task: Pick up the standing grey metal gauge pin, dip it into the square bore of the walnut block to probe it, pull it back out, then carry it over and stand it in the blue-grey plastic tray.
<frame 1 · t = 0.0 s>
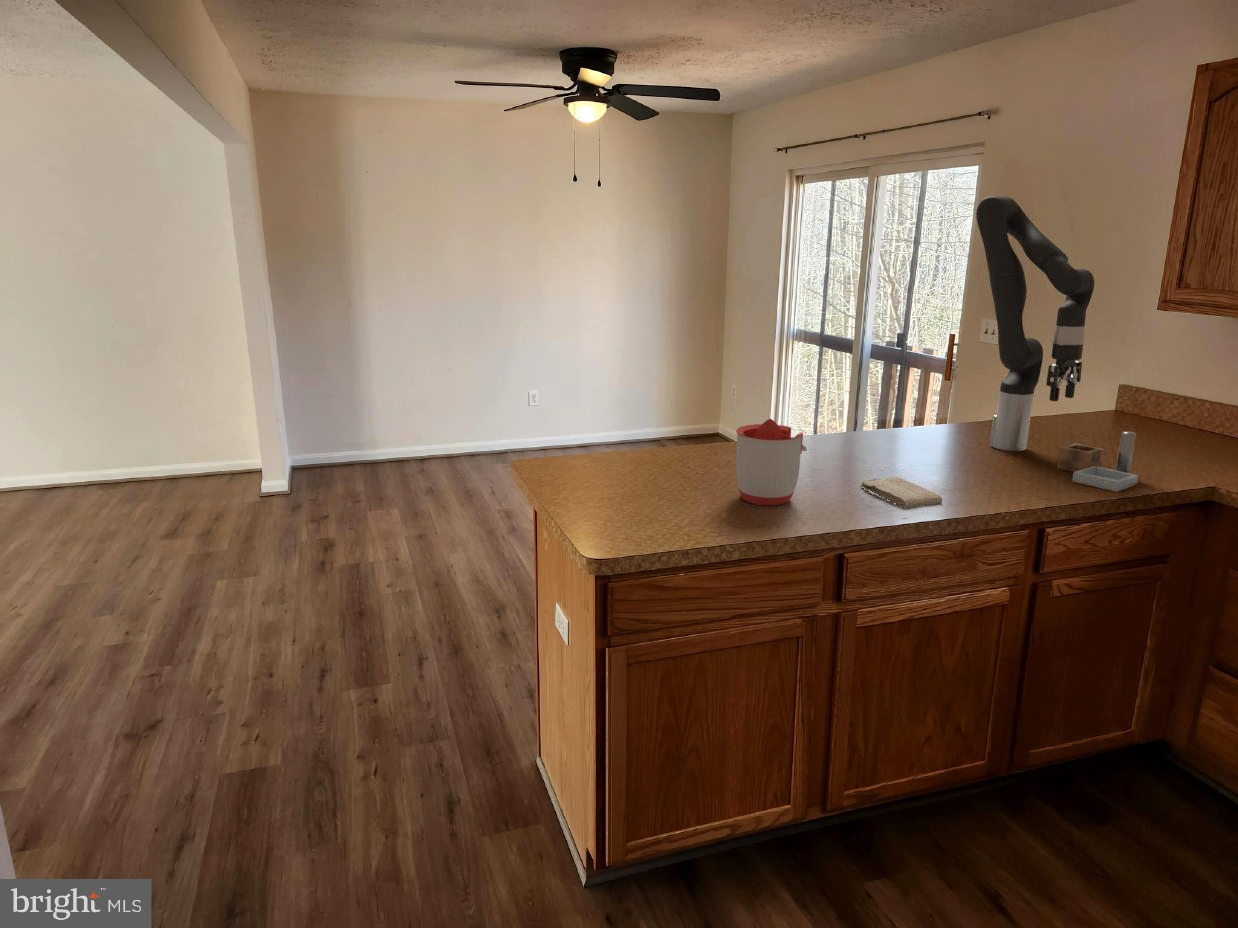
hand: (1061, 399, 232), 17 cm above the table, tool pointing down, fingers open, 8 cm apart
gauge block: (1078, 469, 224), on the table
tray: (1104, 482, 211), on the table
washcloth: (899, 497, 200), on the table
pin: (1121, 476, 218), on the table
citrus juicer: (768, 499, 197), on the table
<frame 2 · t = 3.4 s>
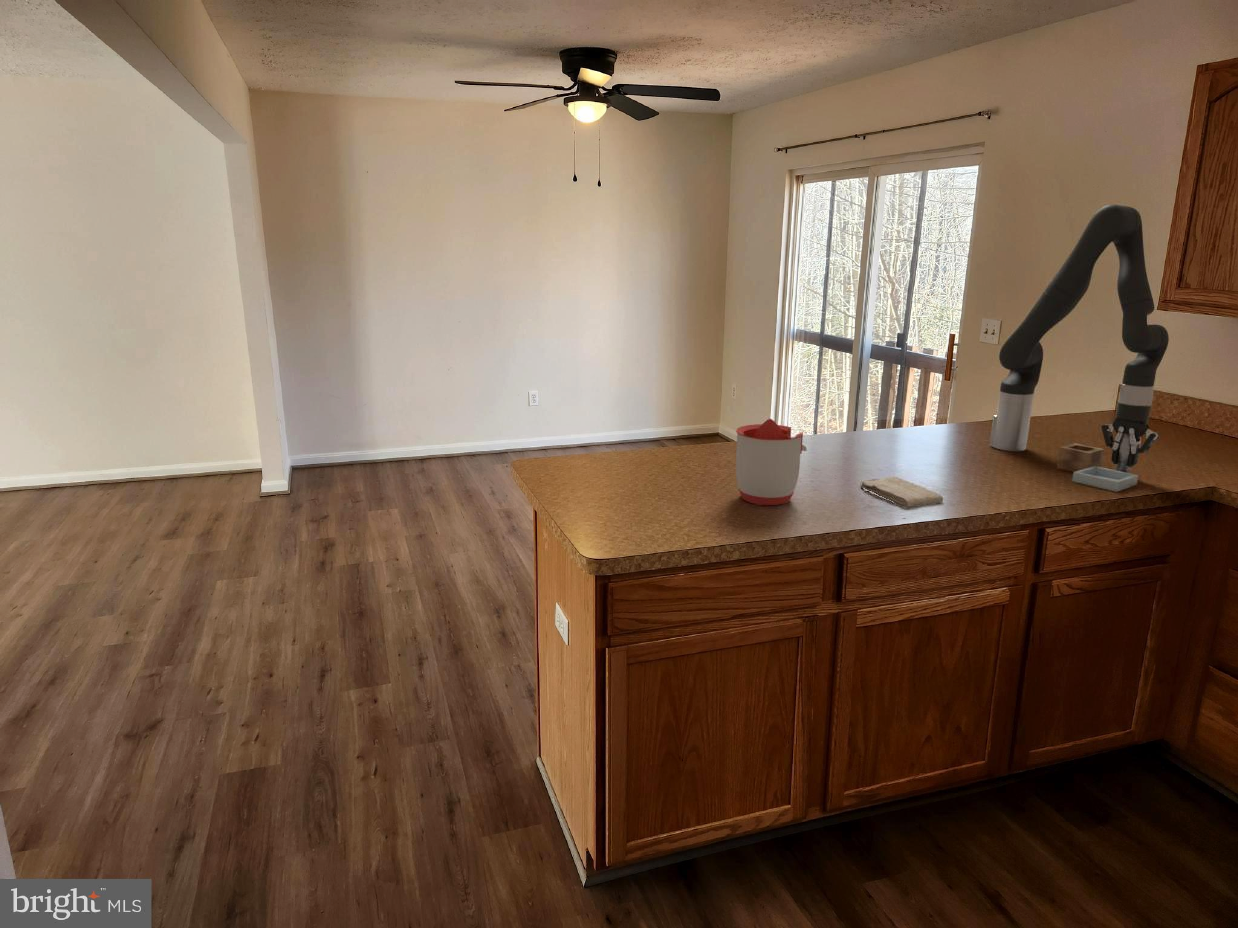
hand: (1123, 464, 217), 3 cm above the table, tool pointing down, fingers closed on pin, 3 cm apart
pin: (1121, 476, 218), on the table, touching gripper
everything else where it was.
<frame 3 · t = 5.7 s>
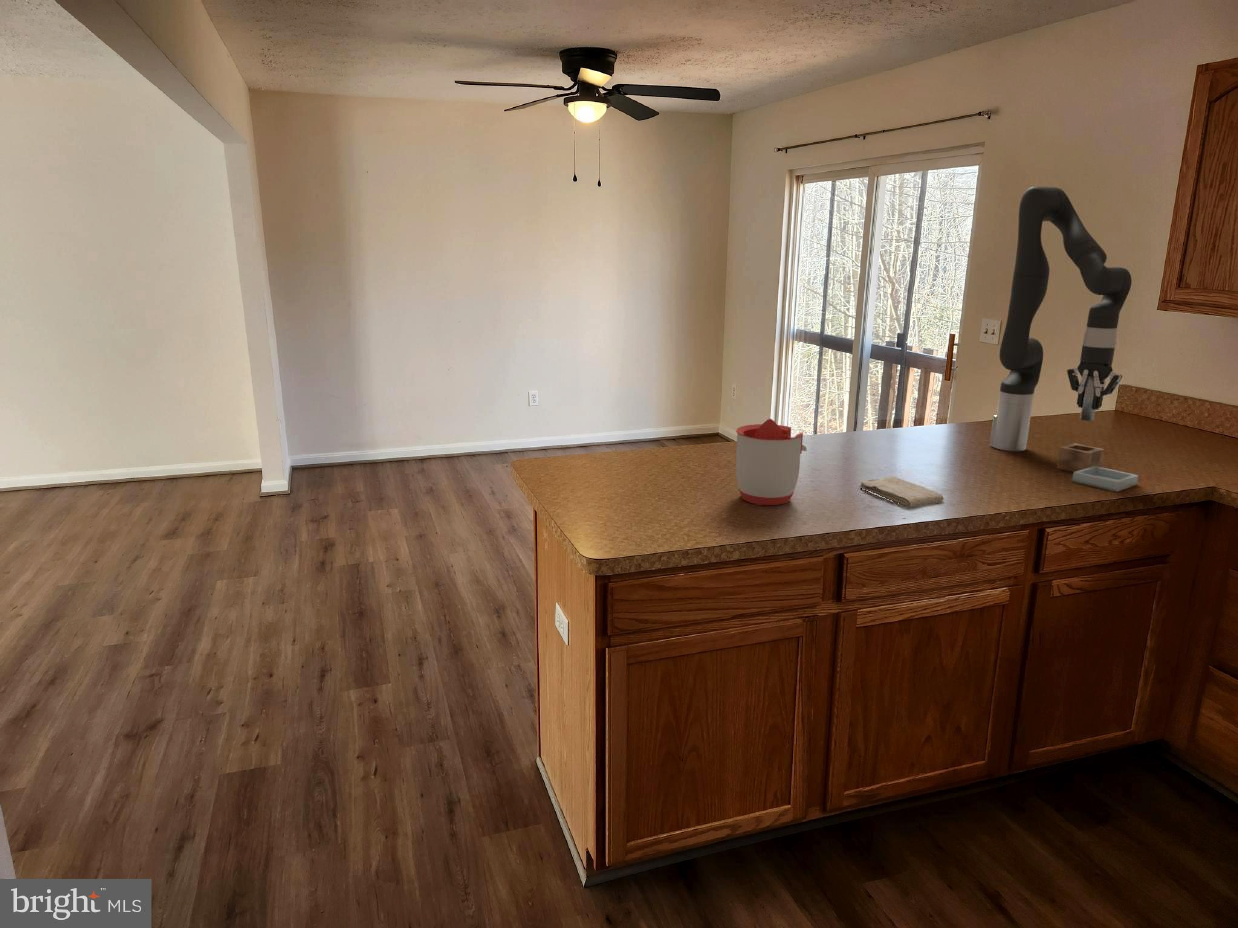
hand: (1088, 408, 219), 17 cm above the table, tool pointing down, fingers closed on pin, 3 cm apart
pin: (1086, 419, 220), point 14 cm above the table, touching gripper
everything else where it was.
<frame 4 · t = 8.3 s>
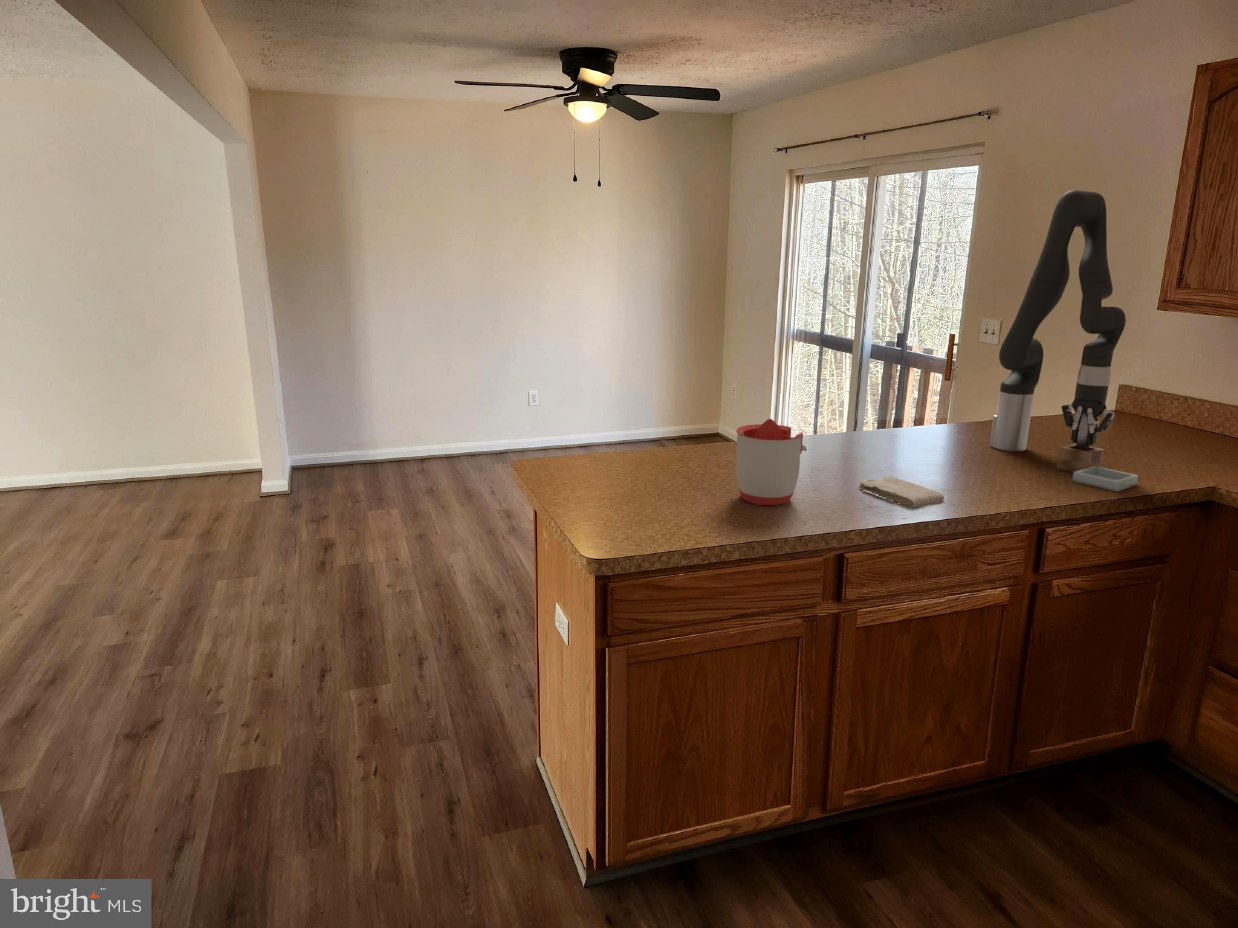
hand: (1082, 444, 222), 7 cm above the table, tool pointing down, fingers closed on pin, 3 cm apart
pin: (1080, 455, 223), point 4 cm above the table, touching gripper
everything else where it was.
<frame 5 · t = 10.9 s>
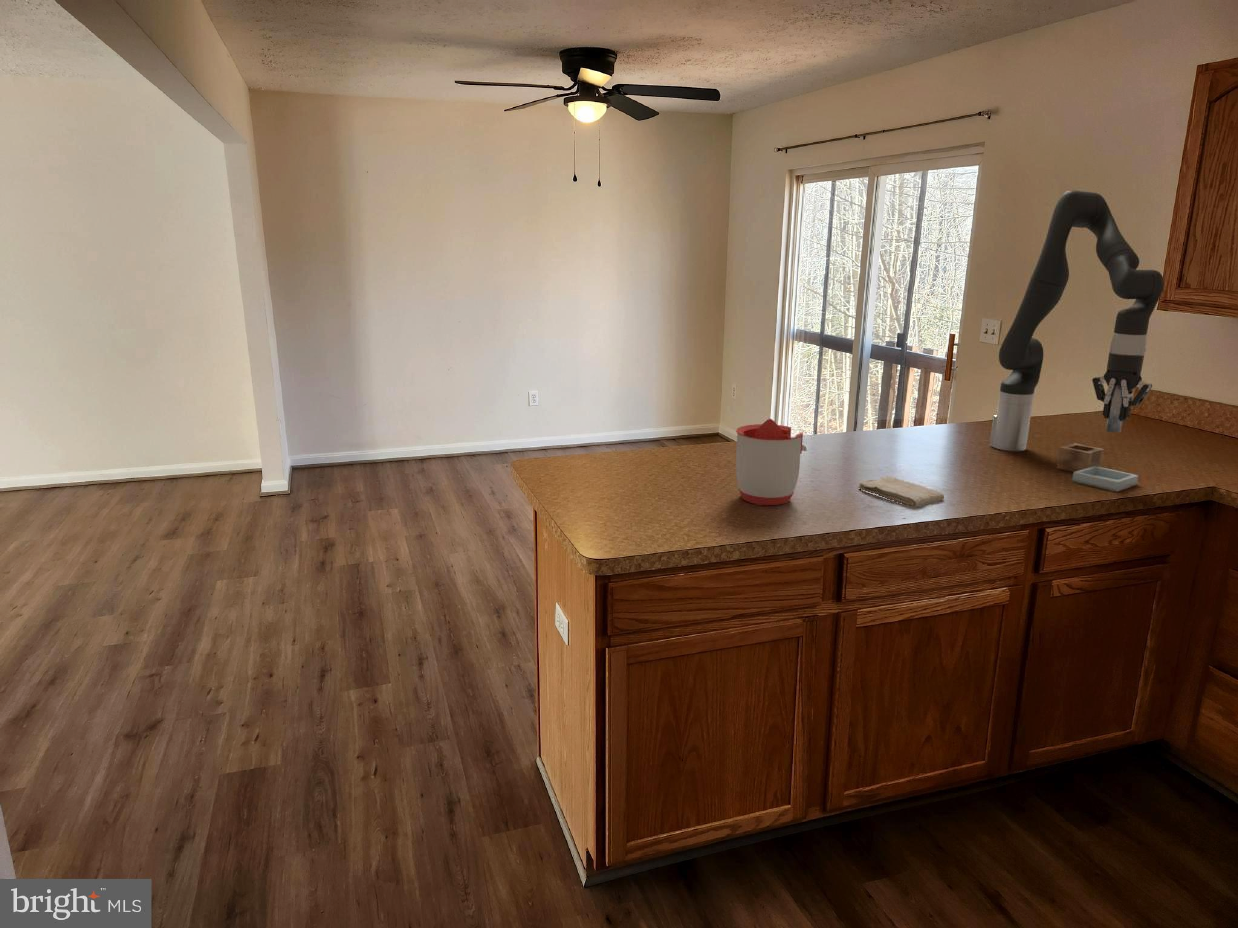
hand: (1115, 419, 207), 17 cm above the table, tool pointing down, fingers closed on pin, 3 cm apart
pin: (1113, 431, 208), point 14 cm above the table, touching gripper
when the fingers open (5 cm above the table, at t = 13.3 s): pin stays where it is, resting on tray.
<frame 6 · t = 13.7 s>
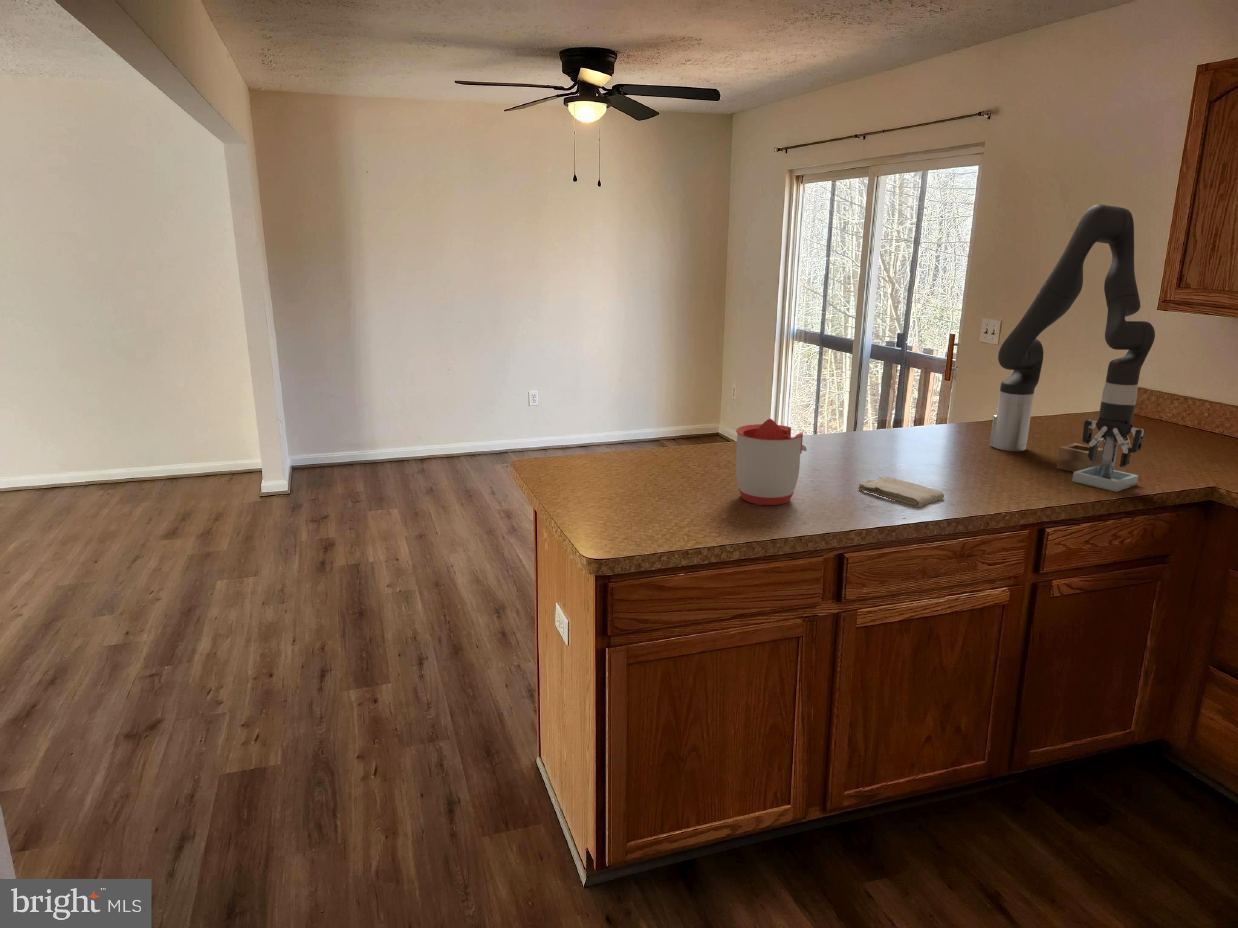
hand: (1107, 463, 210), 5 cm above the table, tool pointing down, fingers open, 7 cm apart
pin: (1104, 480, 211), point 1 cm above the table, touching tray
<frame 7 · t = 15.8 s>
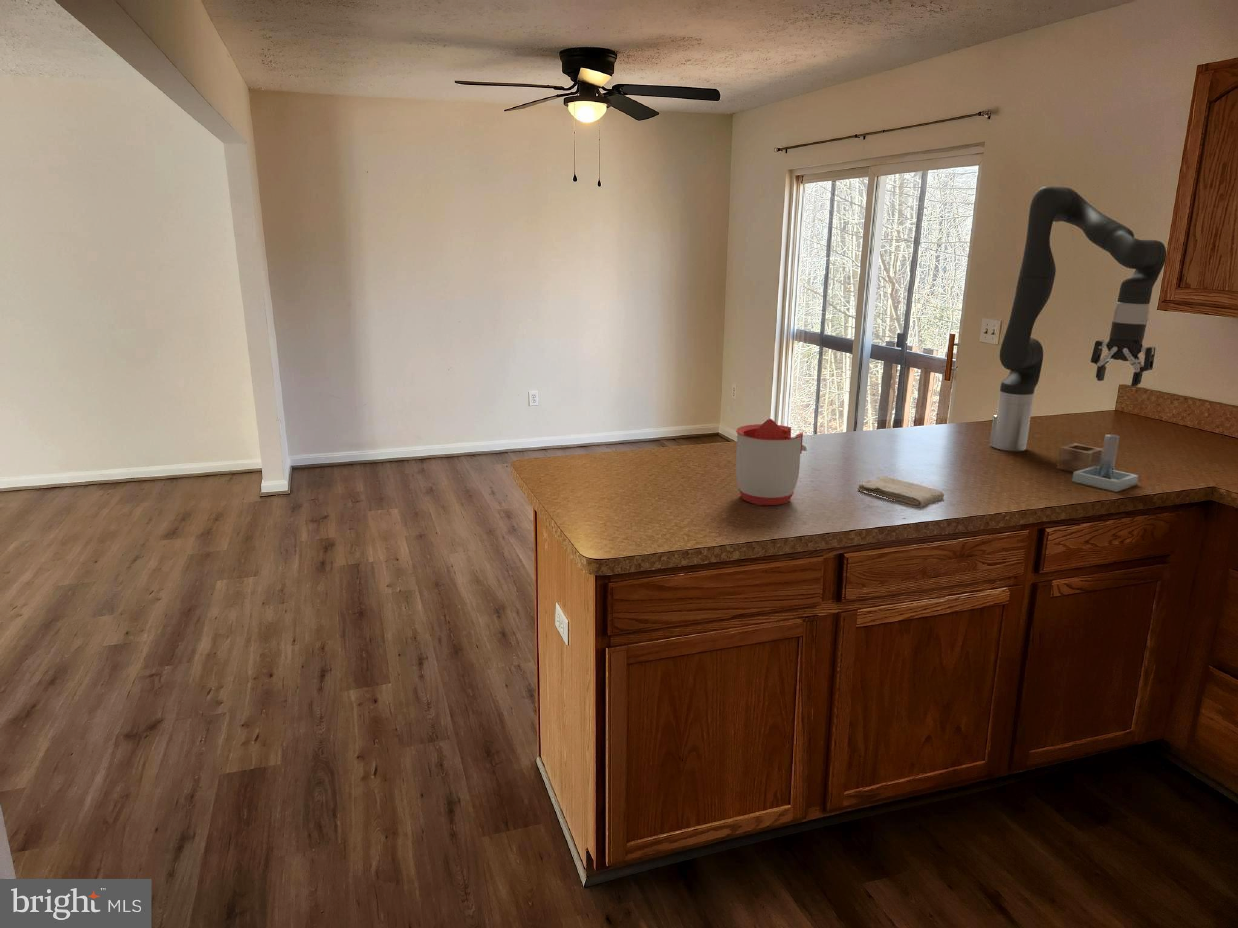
hand: (1117, 383, 211), 25 cm above the table, tool pointing down, fingers open, 8 cm apart
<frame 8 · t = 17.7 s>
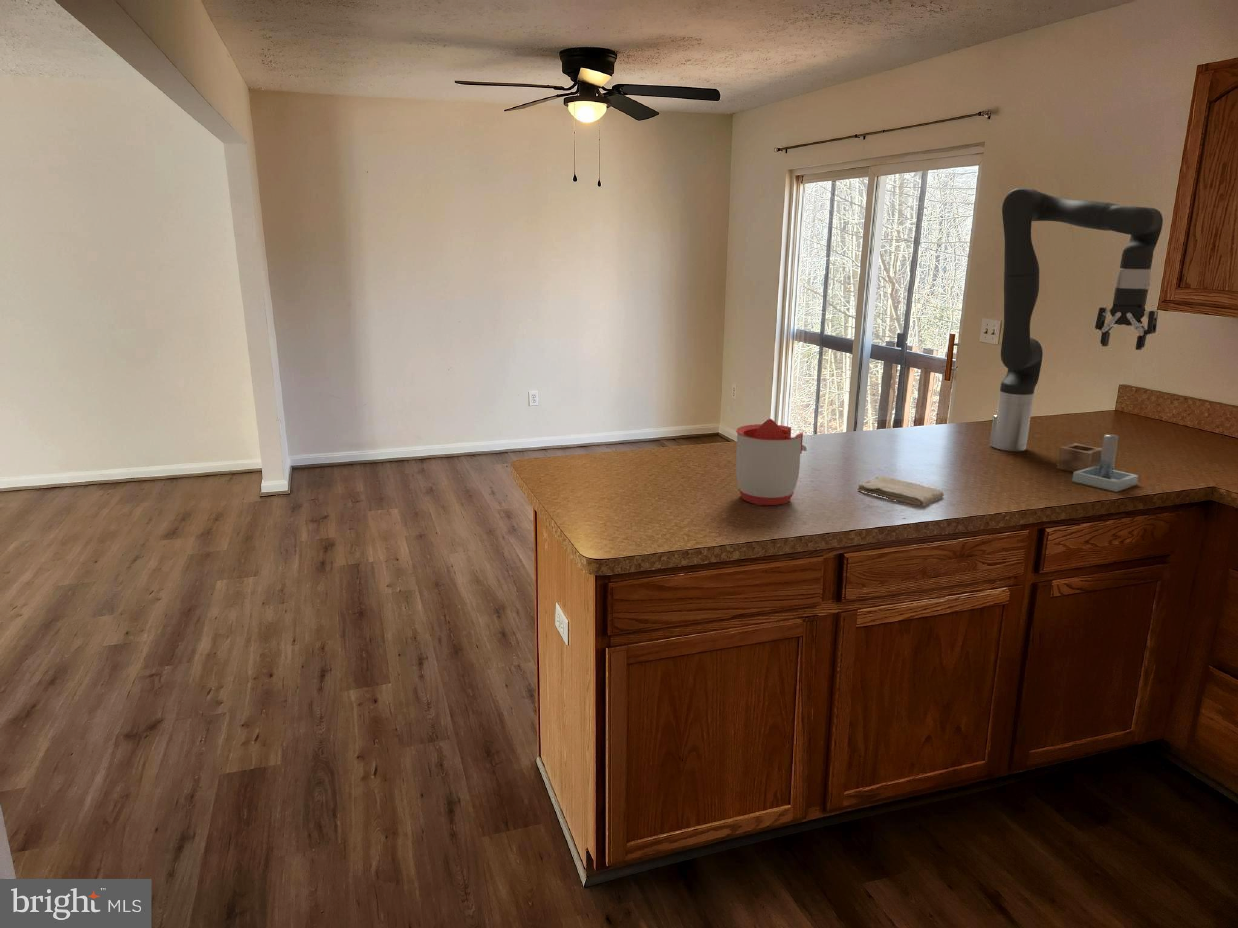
hand: (1121, 348, 218), 33 cm above the table, tool pointing down, fingers open, 8 cm apart
at the end: pin inside the target area on the tray (0.1 cm from its centre), point 0.6 cm above the tray's base; the gripper is holding nothing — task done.
